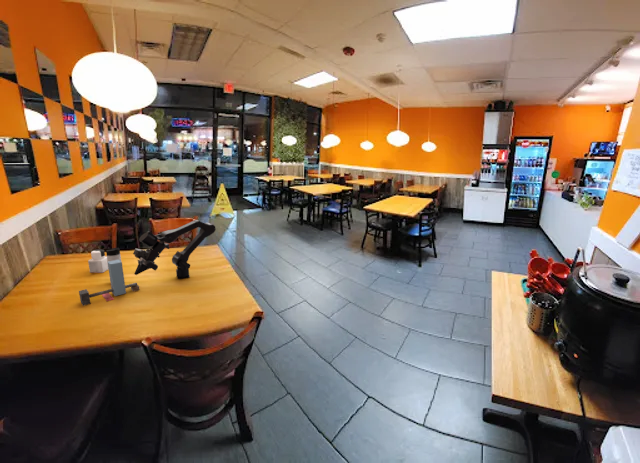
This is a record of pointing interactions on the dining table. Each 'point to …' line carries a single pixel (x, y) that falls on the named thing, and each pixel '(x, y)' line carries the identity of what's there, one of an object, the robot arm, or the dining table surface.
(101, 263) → the container
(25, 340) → the dining table surface
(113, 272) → the sleeve
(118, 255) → the travel mug
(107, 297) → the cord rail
